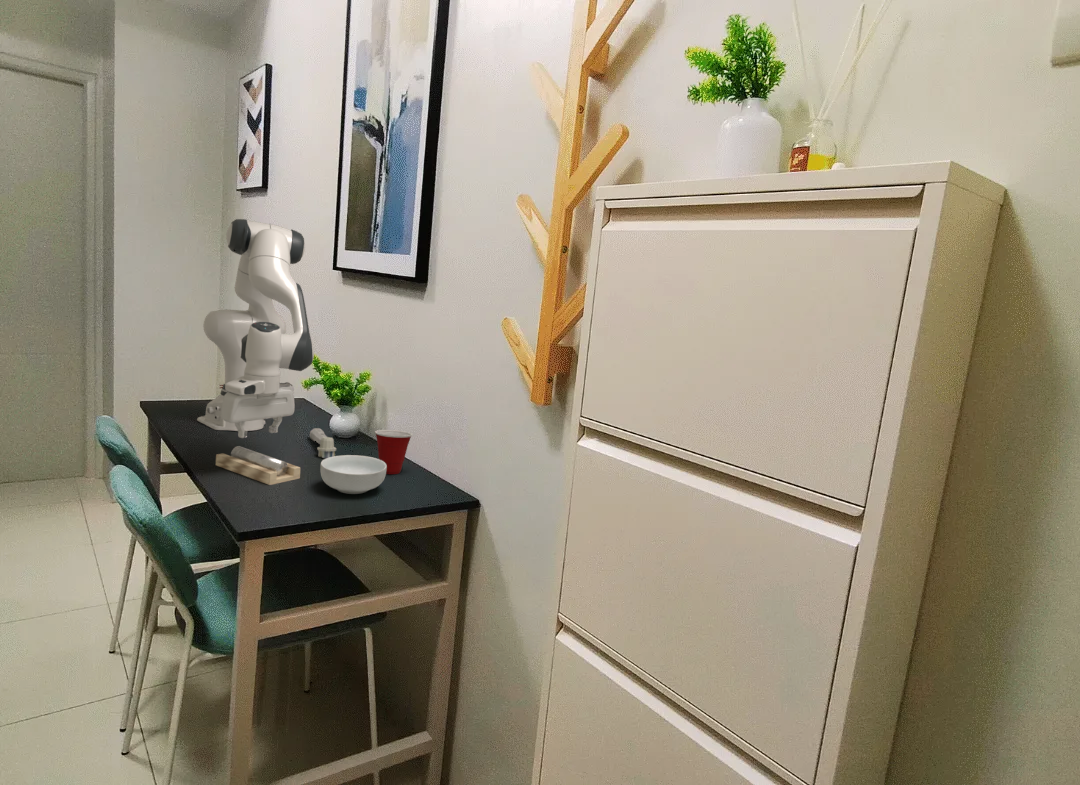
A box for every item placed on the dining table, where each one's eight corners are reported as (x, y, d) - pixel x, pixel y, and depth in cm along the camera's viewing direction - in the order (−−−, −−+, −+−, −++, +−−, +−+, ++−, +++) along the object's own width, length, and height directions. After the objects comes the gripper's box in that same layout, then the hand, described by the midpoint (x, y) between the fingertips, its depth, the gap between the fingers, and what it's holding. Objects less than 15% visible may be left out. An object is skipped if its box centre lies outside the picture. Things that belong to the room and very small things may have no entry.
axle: (229, 460, 181) (231, 446, 181) (242, 460, 185) (244, 445, 185) (273, 476, 173) (276, 461, 172) (286, 475, 176) (288, 460, 176)
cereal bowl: (310, 481, 176) (312, 456, 175) (370, 477, 186) (372, 453, 185) (330, 502, 163) (333, 474, 162) (394, 497, 172) (397, 470, 171)
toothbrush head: (323, 427, 221) (338, 435, 199) (322, 447, 221) (337, 457, 199) (307, 427, 219) (320, 435, 196) (306, 447, 219) (319, 458, 197)
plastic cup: (408, 467, 200) (412, 428, 199) (409, 477, 190) (413, 437, 188) (371, 465, 198) (375, 425, 196) (370, 475, 188) (374, 434, 186)
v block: (215, 465, 180) (216, 454, 180) (246, 459, 188) (246, 449, 188) (269, 485, 170) (270, 473, 169) (299, 478, 178) (300, 467, 177)
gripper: (286, 379, 186) (282, 427, 188) (219, 384, 168) (216, 437, 170) (301, 384, 183) (297, 432, 185) (235, 389, 165) (231, 443, 167)
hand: (258, 434), depth 178 cm, fingers open, 8 cm apart
